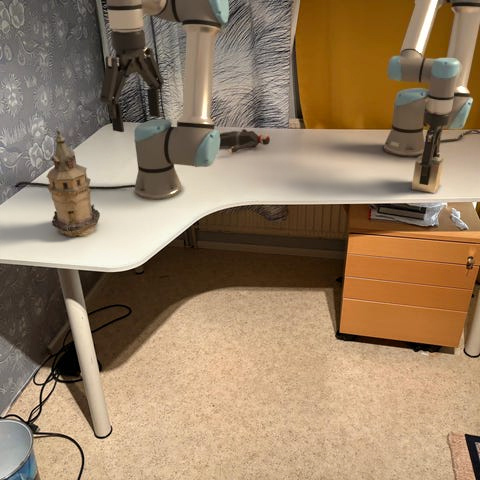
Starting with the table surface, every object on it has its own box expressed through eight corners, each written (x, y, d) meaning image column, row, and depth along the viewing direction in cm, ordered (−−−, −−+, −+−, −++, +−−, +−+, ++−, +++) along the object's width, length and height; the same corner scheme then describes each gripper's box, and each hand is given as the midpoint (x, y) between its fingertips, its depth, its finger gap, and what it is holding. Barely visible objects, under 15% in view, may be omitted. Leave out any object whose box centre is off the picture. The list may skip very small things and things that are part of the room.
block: (438, 185, 179) (443, 158, 174) (434, 193, 174) (439, 165, 169) (416, 181, 182) (420, 154, 178) (411, 189, 177) (415, 161, 172)
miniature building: (80, 214, 164) (63, 117, 149) (111, 225, 157) (96, 125, 142) (44, 231, 154) (22, 130, 140) (75, 244, 147) (55, 139, 133)
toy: (204, 122, 226) (274, 122, 220) (205, 136, 229) (274, 137, 223) (186, 142, 204) (264, 143, 198) (188, 157, 207) (264, 159, 201)
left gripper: (148, 21, 130) (156, 108, 140) (73, 36, 111) (89, 135, 121) (173, 23, 127) (180, 112, 137) (101, 39, 108) (114, 140, 118)
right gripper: (432, 101, 175) (422, 167, 186) (417, 118, 160) (407, 188, 171) (456, 104, 171) (444, 171, 183) (443, 121, 156) (431, 193, 168)
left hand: (137, 123), depth 129 cm, fingers open, 13 cm apart
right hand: (426, 179), depth 177 cm, fingers closed on block, 7 cm apart
